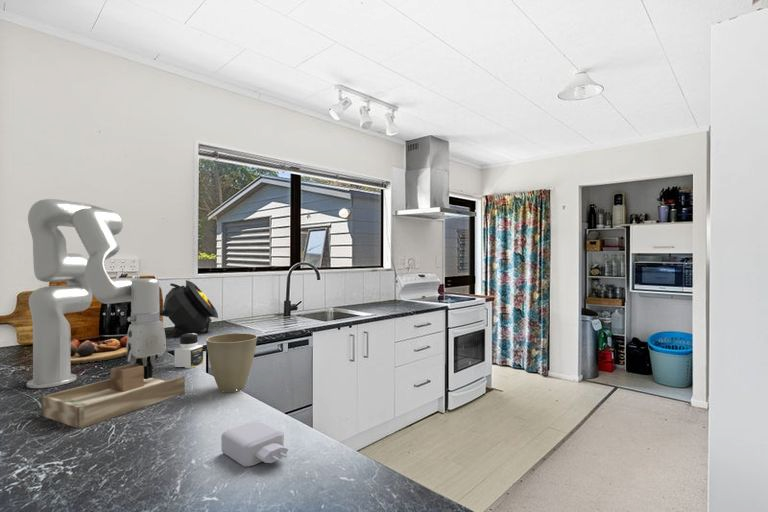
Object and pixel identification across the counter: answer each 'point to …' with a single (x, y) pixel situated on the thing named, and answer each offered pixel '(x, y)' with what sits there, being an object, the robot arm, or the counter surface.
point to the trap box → (106, 401)
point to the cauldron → (188, 308)
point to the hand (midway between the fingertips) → (146, 377)
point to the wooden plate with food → (97, 350)
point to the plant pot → (231, 359)
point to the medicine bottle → (189, 351)
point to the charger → (254, 443)
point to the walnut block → (127, 377)
